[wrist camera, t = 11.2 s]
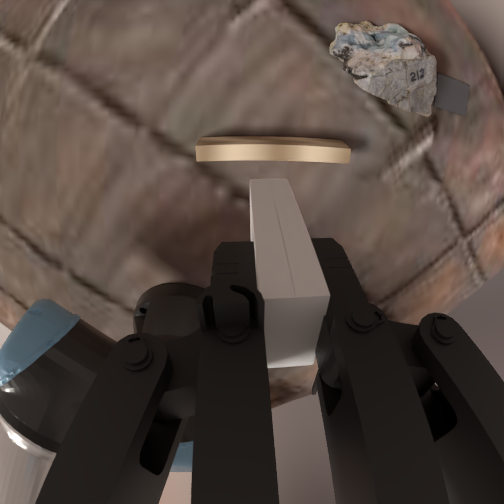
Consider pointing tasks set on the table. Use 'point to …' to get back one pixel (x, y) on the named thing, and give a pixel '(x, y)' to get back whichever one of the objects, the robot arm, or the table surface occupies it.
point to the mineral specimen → (388, 64)
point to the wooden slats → (272, 149)
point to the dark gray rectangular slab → (451, 94)
